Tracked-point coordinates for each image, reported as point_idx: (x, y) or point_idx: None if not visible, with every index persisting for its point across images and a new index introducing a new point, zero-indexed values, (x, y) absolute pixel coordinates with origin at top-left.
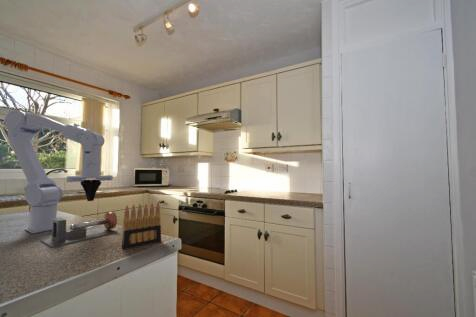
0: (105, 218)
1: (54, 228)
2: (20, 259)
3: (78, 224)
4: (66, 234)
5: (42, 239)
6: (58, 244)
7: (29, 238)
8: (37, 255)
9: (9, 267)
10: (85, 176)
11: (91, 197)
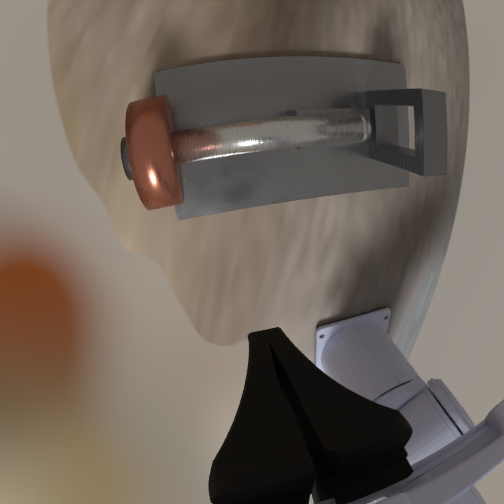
0: (178, 181)
1: (414, 151)
2: (450, 41)
3: (342, 119)
4: None
5: (406, 181)
6: (387, 63)
7: (410, 251)
8: (427, 32)
9: (459, 11)
10: (455, 492)
11: (275, 344)
